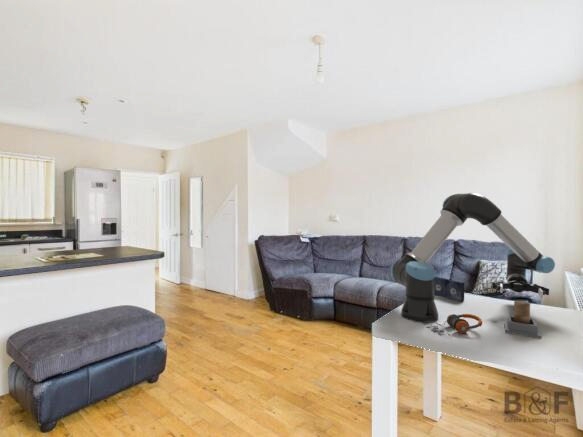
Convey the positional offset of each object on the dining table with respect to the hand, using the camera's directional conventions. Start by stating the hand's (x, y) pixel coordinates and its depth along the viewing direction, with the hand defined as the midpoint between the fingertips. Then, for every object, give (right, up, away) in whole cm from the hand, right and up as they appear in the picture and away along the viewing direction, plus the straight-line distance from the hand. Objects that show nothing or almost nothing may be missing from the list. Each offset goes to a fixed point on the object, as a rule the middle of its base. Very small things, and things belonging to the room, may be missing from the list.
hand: (521, 292), depth 134 cm
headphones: (-31, -14, -7) cm, 35 cm away
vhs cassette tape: (-12, -12, +39) cm, 43 cm away
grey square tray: (-5, -13, -8) cm, 16 cm away
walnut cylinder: (-5, -12, -8) cm, 15 cm away
